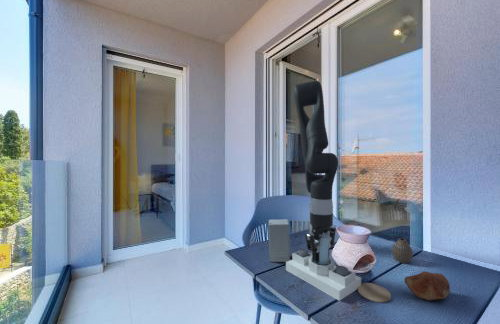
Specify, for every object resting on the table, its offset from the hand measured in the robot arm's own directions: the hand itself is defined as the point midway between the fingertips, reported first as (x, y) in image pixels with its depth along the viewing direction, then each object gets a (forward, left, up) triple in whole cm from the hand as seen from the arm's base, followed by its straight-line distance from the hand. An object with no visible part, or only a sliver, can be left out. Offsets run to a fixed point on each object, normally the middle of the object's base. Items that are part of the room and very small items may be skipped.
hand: (320, 259), depth 79 cm
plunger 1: (0, -8, -3) cm, 8 cm away
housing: (0, 0, -6) cm, 6 cm away
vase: (-37, +11, -7) cm, 39 cm away
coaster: (-6, +15, -6) cm, 17 cm away
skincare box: (+2, -19, -7) cm, 20 cm away
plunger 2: (0, +8, -3) cm, 8 cm away
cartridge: (0, 0, -3) cm, 3 cm away
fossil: (-18, +25, -7) cm, 32 cm away
